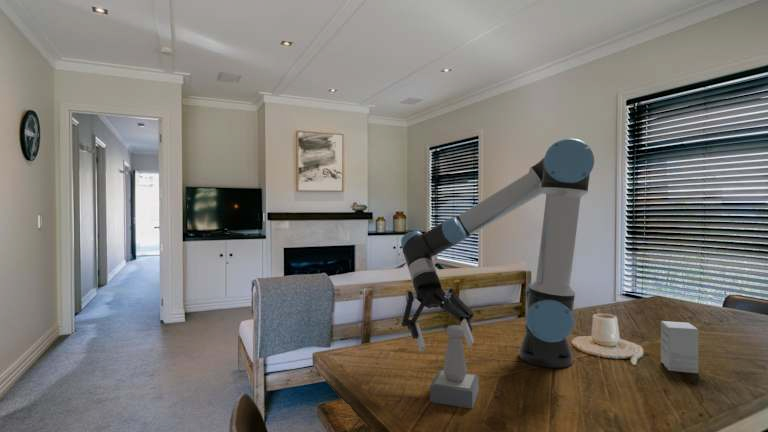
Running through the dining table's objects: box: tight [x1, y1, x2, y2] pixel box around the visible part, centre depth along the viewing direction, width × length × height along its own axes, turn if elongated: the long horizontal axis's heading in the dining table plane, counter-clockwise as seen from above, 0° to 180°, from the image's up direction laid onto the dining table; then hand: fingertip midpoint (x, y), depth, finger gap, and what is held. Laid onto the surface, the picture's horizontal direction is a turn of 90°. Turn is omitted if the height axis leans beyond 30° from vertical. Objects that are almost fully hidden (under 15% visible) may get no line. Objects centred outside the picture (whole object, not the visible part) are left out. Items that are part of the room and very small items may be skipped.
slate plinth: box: [429, 369, 480, 410], centre depth 102 cm, size 10×10×4 cm
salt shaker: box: [442, 324, 468, 382], centre depth 102 cm, size 6×6×13 cm
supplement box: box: [660, 320, 700, 374], centre depth 120 cm, size 7×7×13 cm
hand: (447, 346), depth 106 cm, fingers open, 13 cm apart
